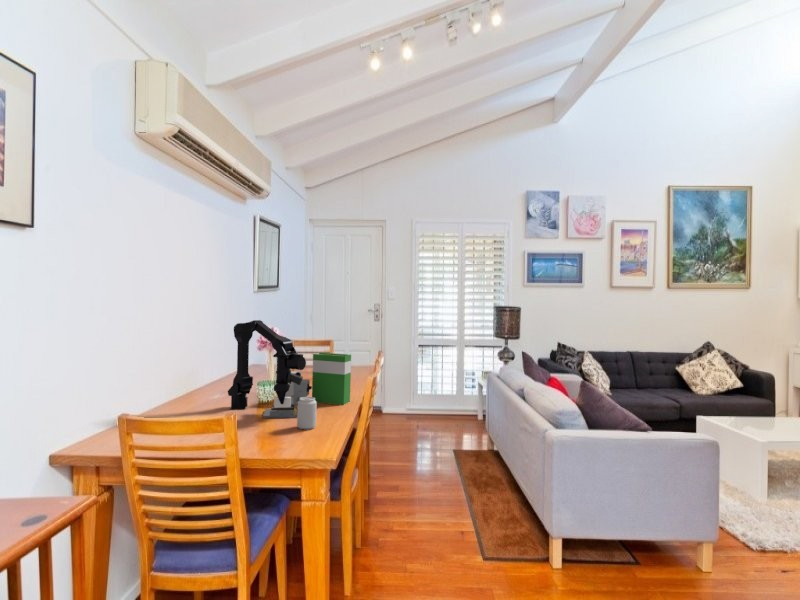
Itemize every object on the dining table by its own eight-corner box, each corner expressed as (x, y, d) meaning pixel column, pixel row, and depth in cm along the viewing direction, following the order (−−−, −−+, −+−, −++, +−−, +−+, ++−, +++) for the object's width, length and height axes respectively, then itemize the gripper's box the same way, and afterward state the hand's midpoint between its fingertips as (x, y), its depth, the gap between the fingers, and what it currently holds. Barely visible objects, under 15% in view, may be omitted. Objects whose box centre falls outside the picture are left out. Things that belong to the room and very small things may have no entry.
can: (299, 431, 176) (300, 400, 176) (294, 426, 183) (295, 396, 183) (318, 429, 180) (319, 399, 180) (312, 424, 186) (313, 395, 186)
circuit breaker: (309, 405, 219) (309, 374, 219) (279, 404, 219) (280, 373, 219) (312, 401, 226) (313, 372, 226) (284, 400, 227) (284, 371, 227)
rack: (262, 418, 193) (262, 411, 193) (265, 410, 206) (266, 404, 206) (300, 417, 196) (300, 410, 196) (301, 410, 209) (301, 403, 209)
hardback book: (311, 401, 227) (313, 354, 227) (318, 398, 234) (320, 352, 234) (343, 404, 221) (345, 356, 221) (349, 401, 229) (351, 354, 228)
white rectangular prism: (273, 407, 196) (274, 398, 196) (274, 405, 199) (274, 396, 199) (290, 407, 198) (290, 398, 198) (290, 405, 200) (291, 396, 200)
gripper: (301, 371, 191) (300, 408, 191) (302, 364, 209) (301, 398, 209) (274, 371, 189) (273, 408, 189) (278, 364, 207) (277, 398, 207)
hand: (282, 403), depth 198 cm, fingers closed on white rectangular prism, 3 cm apart
